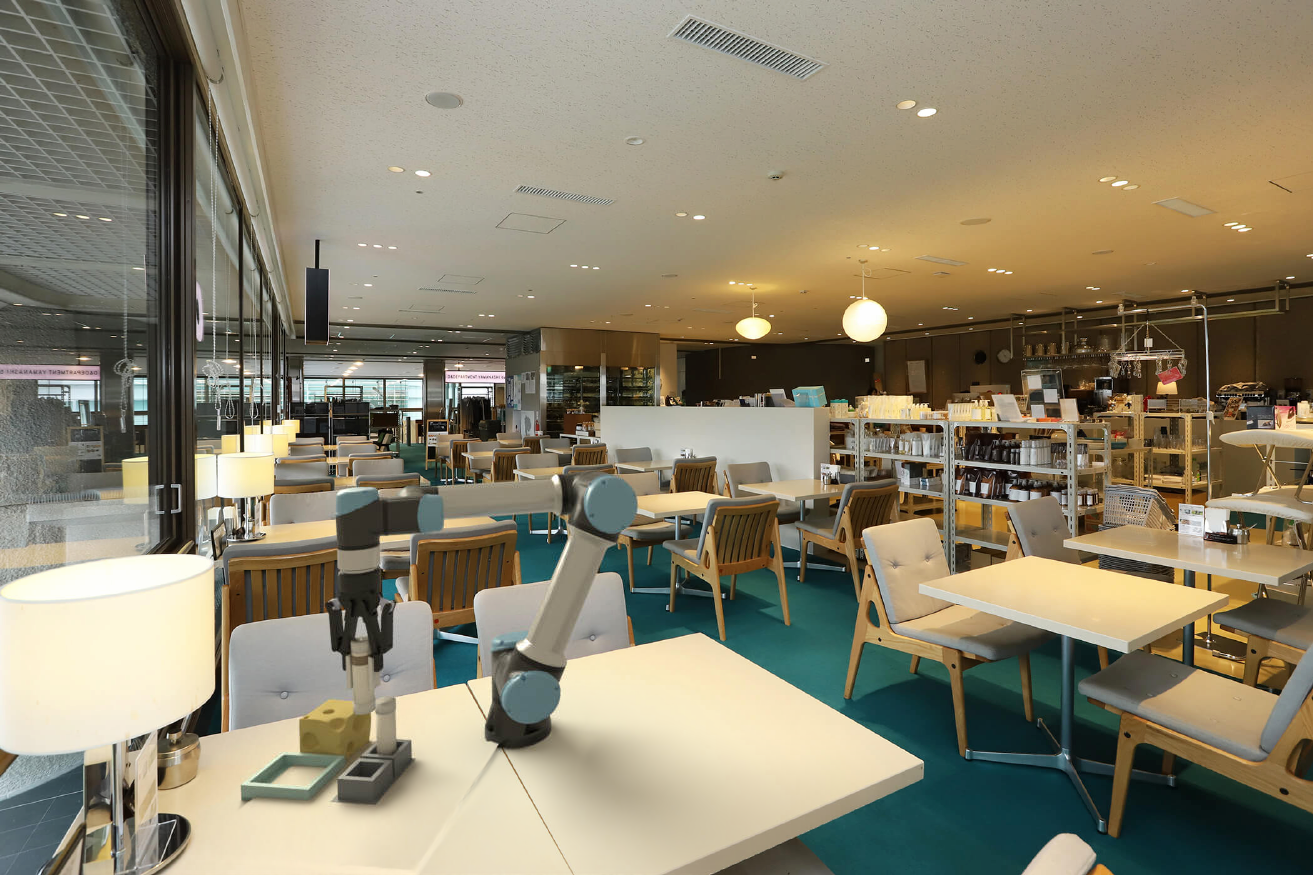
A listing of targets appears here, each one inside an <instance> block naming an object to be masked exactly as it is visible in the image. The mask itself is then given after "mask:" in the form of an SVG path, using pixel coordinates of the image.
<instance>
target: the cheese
mask: <svg viewBox="0 0 1313 875" xmlns="http://www.w3.org/2000/svg"><path fill="white" fill-rule="evenodd" d="M298 722H299V723H298V725H299V726H298V728H299V730H298V732H299V753H311V754H327V755H342V756H345V762H346V761H347V760H348V759H349V758H350V757H351V756H352V755H353V754H354V753H356V752H357V751H358V750H359V749H361V748H362V747H364V745H366V744H367V743H368V742H370V737H371V730H372V728H371V727H372V712H371V713H368V714H364V715H356V714H354V713H353V700H342V699H341V700H340V699H334V698H333V699H331V698H330V699H328V700H326V701H325V702H324V703H322V704H321V705H318V706H317V707H316V708H315V709H313V710H312V711H310V712H309V713H307V714H306V715H304V716H302V717H300V718H299V721H298Z"/></svg>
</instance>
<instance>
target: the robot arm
mask: <svg viewBox="0 0 1313 875" xmlns="http://www.w3.org/2000/svg"><path fill="white" fill-rule="evenodd" d="M638 507H639V504H638V498H637V495H636V492H635V490H634V488H633V487H632V485H631V484H630V483H628V482H627V481H626V480H625V479H624V478H622V477H620V476H619V475H615V474H611V473H608V472H606V471H602V470H596V469H592V470H591V469H590V470H584V471H582V470H581V471H577V472H568V473H559V474H558V473H557V474H554V475H553V476H552V477H551V478H549V479H533V480H516V481H515V480H514V481H500V482H497V481H496V482H483V483H482V482H480V483H466V484H463V483H462V484H451V485H449V484H447V485H437V486H435V485H434V486H420V485H409V486H408V485H407V486H405V487H403V488H402V489H401V490H399V491H398V492H397V494H396V495H395V496H391V497H389V496H388V497H385V496H380V493H379V490H378V489H377V488H376V487H371V486H367V487H366V486H357V487H349V488H343V489H341V490H339V491H338V492H337V493H336V496H335V529H336V531H335V532H336V550H337V552H336V555H337V557H336V559H337V561H336V562H337V569H338V570H339V571H338V573H337V578H338V579H337V580H338V582H337V583H338V584H337V585H338V590H339V594H338V597H335V598H334V597H333V598H332V599H330V600H328V601H326V602H325V604H324V606H325V609H326V611H327V613H328V620H329V621H328V622H329V634H330V646H331V649H330V650H331V652H333V653H335V652H338V653H340V655H341V661H342V663H341V664H342V670H343V671H344V672H345V673H346V674H345V675H346V676H345V677H346V690H349V691H350V690H353V677H352V657H351V654H352V652H351V640H352V639H354V638H356V634H357V627H358V621H359V618H361V619H362V623H364V627H365V630H366V634H367V635H366V636H368V639H369V644H370V648H371V653H372V655H370V656H369V657H368V673H369V690H371V691H373V690H376V689H377V688H378V687H380V685H381V671H382V670H384V654H387V653H388V652H390V651H391V650H392V649H393V648H394V611H395V608H396V606H397V601H396V600H395V599H392V600H389V599H386V598H384V595H383V593H382V590H381V586H382V568H380V565H381V540H380V539H381V537H388V536H403V535H418V534H419V535H420V534H424V535H428V534H430V533H438V532H441V531H442V530H444V528H445V527H444V526H445V521H446V520H447V521H448V520H449V521H450V520H461V519H474V518H486V517H488V518H489V517H501V516H511V515H512V516H514V515H528V514H540V513H554V514H555V515H556V516H557V517H560V516H569V518H568V520H567V523H566V525H567V528H568V530H569V536H568V539H567V540H566V543H565V545H564V548H563V550H562V552H561V554H560V557H559V560H558V562H557V563H556V564H557V565H556V567H555V569H554V572H553V573H552V576H551V578H550V580H549V584H548V586H547V589H546V591H545V592H544V595H543V597H542V600H541V603H540V605H539V606H538V609H537V611H536V615H535V616H534V619H533V621H532V624H531V626H530V628H529V630H521V631H520V630H519V631H510V632H506V633H502V634H499V635H496V636H495V637H494V638H493V639H492V640H491V644H490V651H489V652H490V656H491V657H490V658H491V662H490V663H491V703H490V707H489V711H488V714H487V717H486V719H485V722H484V739H485V740H486V742H491V743H495V744H497V748H500V749H501V748H502V749H521V748H526V747H530V746H534V745H536V744H539V743H540V742H542V741H544V740H545V739H546V738H547V737H548V736H549V735H550V733H551V731H552V718H551V715H552V714H553V713H554V712H555V711H556V709H557V708H558V706H559V703H560V700H561V691H562V690H561V686H560V681H561V680H562V678H563V677H562V676H563V675H564V672H565V669H566V667H567V664H568V661H567V658H566V656H565V650H566V648H567V646H568V644H569V641H570V638H571V636H572V634H573V631H574V629H575V626H576V624H577V621H578V620H579V617H580V614H581V612H582V610H583V607H584V605H585V602H586V600H587V597H588V596H589V593H590V590H591V588H592V585H593V583H594V581H595V579H596V576H597V573H598V571H599V568H600V566H601V564H602V561H603V559H604V556H605V554H606V551H607V550H608V548H610V547H613V546H615V545H617V543H618V540H619V538H620V536H621V534H622V532H623V531H625V530H626V529H627V528H629V527H630V526H631V524H633V522H634V520H636V519H635V518H636V516H637V513H638ZM379 607H380V609H379V610H380V612H381V614H380V624H379V619H378V617H379V611H378V608H379ZM342 608H343V609H344V618H343V610H342Z"/></svg>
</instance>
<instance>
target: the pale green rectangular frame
mask: <svg viewBox="0 0 1313 875" xmlns="http://www.w3.org/2000/svg"><path fill="white" fill-rule="evenodd" d="M294 765H295V766H306V767H307V766H311V767H325V769H324V770H322V772H320V773H319V774H318V775H317V776H316V777H315V778H314V779H313V780H311V781H310V782H309V783H308V784H307V785H306V786H305V785H295V784H279V783H273V782H274V781H276V780H277V779H278V778H279V777H280V776H282V775H283V774H284V773H285V772H286V771H288V770H289V769H290V768H291V767H292V766H294ZM345 766H346V761H345V756H342V755H327V754H311V753H300V752H293V751H281V752H280V753H279V754H278V755H277V756H275V757H274V758H273V759H272V760H270V761H269V762H268V763H267V764H265V765H264V766H262V767H261V768H260V769H259V770H258V771H256V772H255V773H254V774H253V775H251V776H250V777H249V778H248V779H247V780H245V781H244V782H242V783H241V784H240V798H241V801H252V800H253V799H254V798H255V797H260V798H263V797H264V798H275V799H291V800H301V801H302V800H303V801H304V800H305V801H310V800H311V798H313V796H315V795H316V794H317V793H318V792H319V791H320V790H321V789H322V788H323V787H324V786H325V785H326V784H327V783H328V782H329V781H330V780H331V779H333V777H335V775H336V774H338V773H339V772H340V771H341V770H342V769H343V768H344V767H345Z"/></svg>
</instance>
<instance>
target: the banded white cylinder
mask: <svg viewBox="0 0 1313 875" xmlns="http://www.w3.org/2000/svg"><path fill="white" fill-rule="evenodd" d="M351 652H352V654H351V657H352V677H353V688H352V695H353V696H352V698H353V700H352V701H353V713H354V714H356V715H364V714H368V713H371V714H372V712H375V709H376V703H375V701H376V696H375V695H376V694H375V692H376V689H374V690H373V691H371V690H369V673H368V657H369V656H370V655H372V653H371V648H370V644H369V639H368V635H362V636H361V635H360V636H357V637H356V636H355V638H354V639H352V640H351Z"/></svg>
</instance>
